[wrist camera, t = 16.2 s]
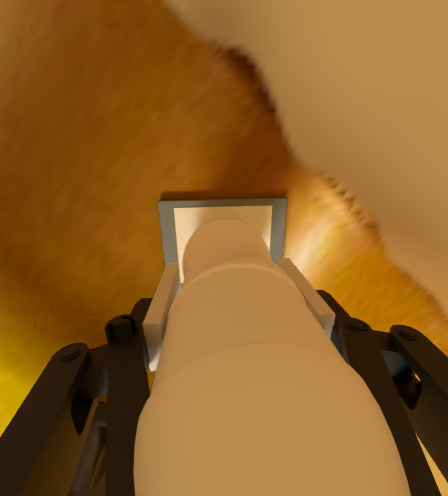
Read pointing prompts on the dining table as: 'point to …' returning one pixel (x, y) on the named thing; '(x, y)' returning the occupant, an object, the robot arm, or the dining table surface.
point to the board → (203, 210)
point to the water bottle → (255, 388)
